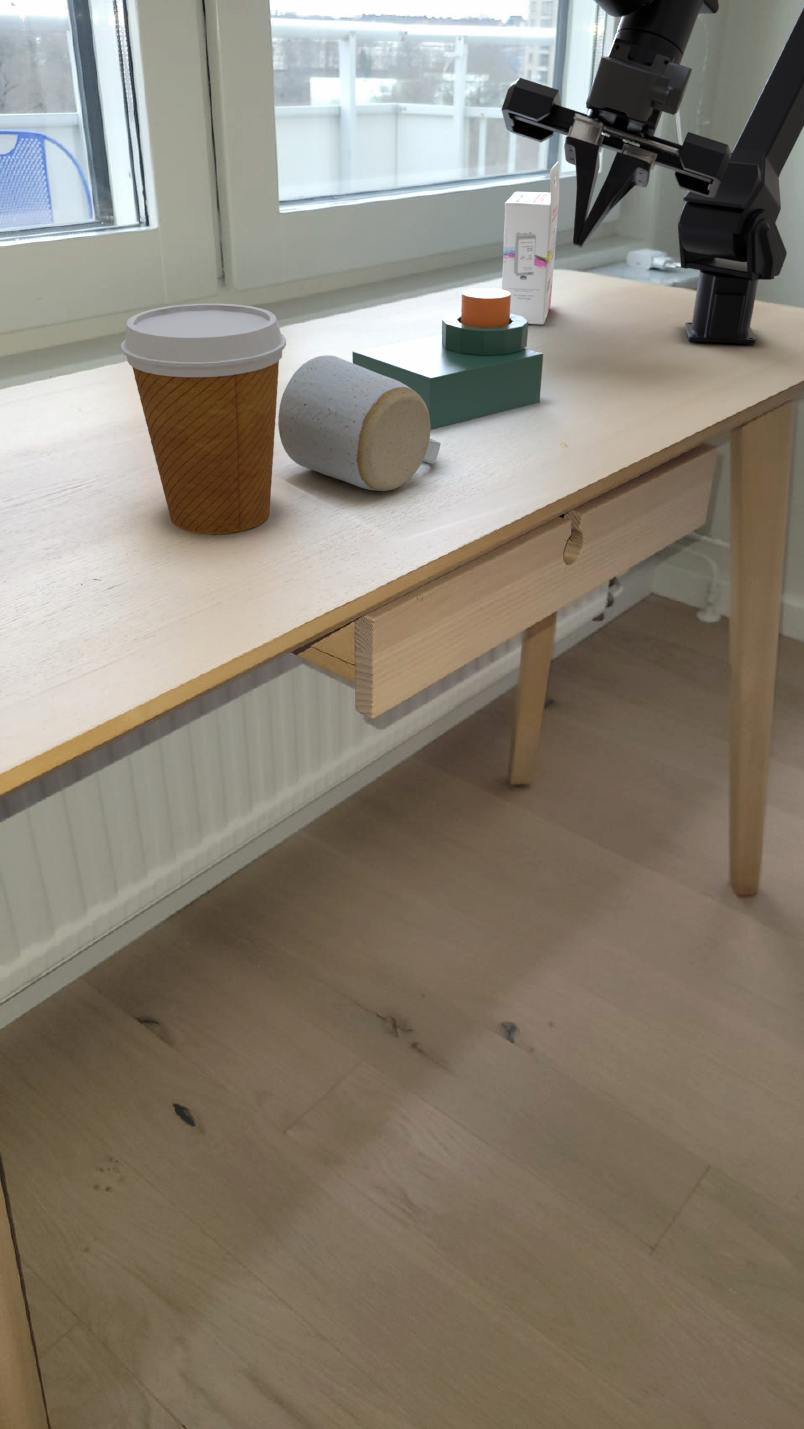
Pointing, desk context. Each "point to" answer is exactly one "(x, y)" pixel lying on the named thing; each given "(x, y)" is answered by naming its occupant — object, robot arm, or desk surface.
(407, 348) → the green button base
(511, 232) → the ink cartridge box
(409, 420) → the ceramic mug
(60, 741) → the desk surface
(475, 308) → the orange squat cylinder
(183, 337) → the disposable coffee cup
